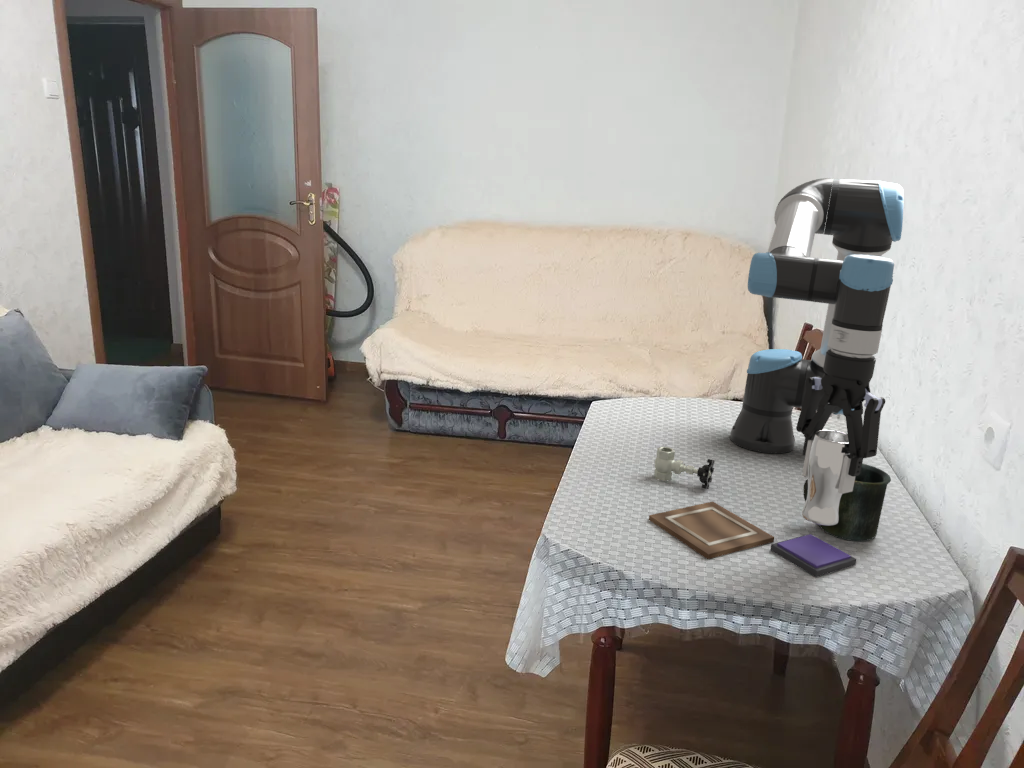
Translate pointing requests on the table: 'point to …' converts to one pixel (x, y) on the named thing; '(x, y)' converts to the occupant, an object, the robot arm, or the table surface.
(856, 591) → the table surface
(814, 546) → the ink pad
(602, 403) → the table surface
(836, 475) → the beer glass
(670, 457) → the valve
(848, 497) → the mug
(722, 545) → the board
